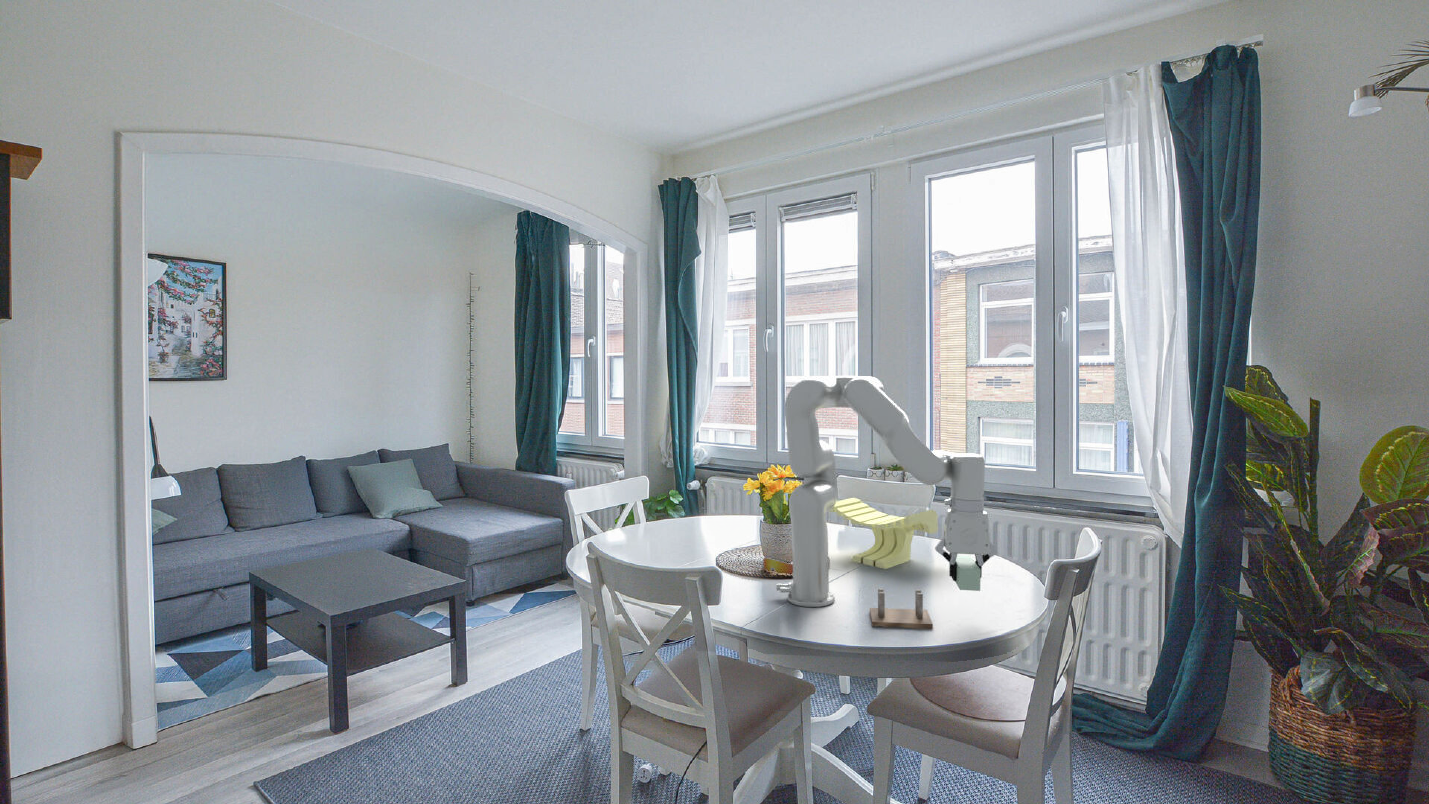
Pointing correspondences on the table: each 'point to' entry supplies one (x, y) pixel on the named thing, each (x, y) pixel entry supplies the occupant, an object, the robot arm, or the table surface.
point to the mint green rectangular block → (967, 573)
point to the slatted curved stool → (886, 531)
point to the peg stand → (901, 614)
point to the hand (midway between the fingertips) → (965, 579)
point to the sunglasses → (777, 566)
